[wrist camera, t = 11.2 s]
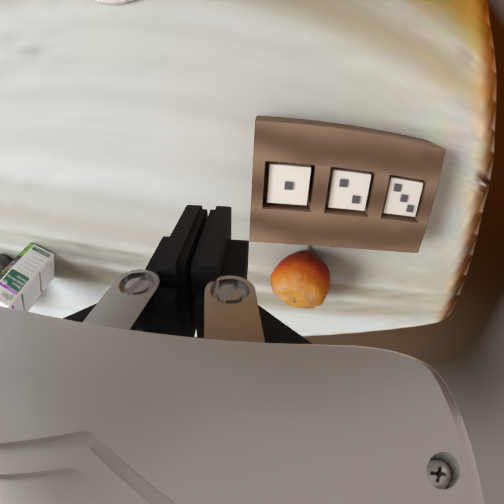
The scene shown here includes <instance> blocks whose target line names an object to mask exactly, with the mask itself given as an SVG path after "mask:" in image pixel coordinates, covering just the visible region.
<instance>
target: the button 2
mask: <svg viewBox="0 0 504 504" xmlns="http://www.w3.org/2000/svg"><path fill="white" fill-rule="evenodd" d="M370 180H371V174H370V173H369V172H368V171H361V170H354V169H346V168H337V167H331V169H330V176H329V183H328V190H327V197H326V204H327V206H328V207H329V208H340V209H350V210H360V211H365V206H366V201H367V196H368V191H369V185H370Z"/></svg>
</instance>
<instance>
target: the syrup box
mask: <svg viewBox="0 0 504 504" xmlns="http://www.w3.org/2000/svg"><path fill="white" fill-rule="evenodd" d="M53 278H54V253H51V252H49V251H47V250H45V249H43V248H41V247H39V246H37V245H35V244H33V243H30V244H29V245H28V246H27V247H26V248H25V249H24V250H23V251H22V252H21V253H20V254H19V255H18V256H17V257H16V258H15V259H14V260H13V261H12V262H11V263H10V264H9V265H8V266H7V267H6V268H5V269H4V270H3V272H2V273H1V274H0V306H2V307H7V308H12V309H18V310H22V311H27V312H28V311H29V310H30V308H31V307H32V305H33V304H34V303H35V301H36V300H37V299H38V297H39V296H40V295H41V293H42V292H43V291H44V290H45V288H46V287H47V286H48V284H49V283H50V282H51V281H52V279H53Z"/></svg>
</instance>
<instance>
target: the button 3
mask: <svg viewBox="0 0 504 504" xmlns="http://www.w3.org/2000/svg"><path fill="white" fill-rule="evenodd" d="M422 187H423V182H421V181H420V180H419V179H413V178H408V177H402V176H396V175H390V177H389V182H388V187H387V192H386V196H385V201H384V205H383V210H382V212H383V213H387V214H396V215H404V216H412V217H415V215H416V211H417V207H418V203H419V199H420V195H421V191H422Z"/></svg>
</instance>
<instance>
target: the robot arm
mask: <svg viewBox="0 0 504 504" xmlns="http://www.w3.org/2000/svg"><path fill="white" fill-rule="evenodd" d="M94 1H96V2H98V3H101V4H106V5H119V4H125V3H128V2H131V1H134V0H94ZM248 249H249V241H245V240H231V207H225V206H216V209H215V210H210V213H209V216H208V214H207V210H206V209H202V206H198V205H187V206H186V208H185V210H184V212H183V214H182V215H181V217H180V219H179V221H178V223H177V225H176V226H175V228H174V230H173V232H172V234H171V236H170V237H163V238H162V240H161V241H160V243H159V245H158V247H157V249H156V250H155V252H154V254H153V256H152V258H151V260H150V262H149V263H148V265H147V267H146V269H145V270H133V271H130V272H127V273H125V274H123V275H121V276H120V277H119V278H118V279H117V280H116V281H115V282H114V284H113V285H112V286H111V287H110V288H109V290H108V291H107V292H106V293H105V295H104V296H103V297H102V298H101V299H100V301H99V302H98V303H97V304H95V305H92V306H90V307H88V308H86V309H83V310H81V311H79V312H77V313H74V314H72V315H70V316H68V317H65V318H63V319H61V318H56V317H51V316H46V315H41V314H36V313H31V312H27V311H22V310H18V309H12V308H7V307H2V306H0V504H484V500H483V495H482V490H481V485H480V480H479V476H478V471H477V467H476V463H475V459H474V455H473V451H472V447H471V444H470V441H469V438H468V435H467V432H466V429H465V426H464V423H463V420H462V417H461V415H460V412H459V410H458V408H457V405H456V403H455V401H454V399H453V397H452V395H451V393H450V391H449V389H448V387H447V386H446V384H445V382H444V381H443V379H442V378H441V377H440V376H439V374H438V373H437V372H436V371H435V370H434V369H433V368H432V367H430V366H429V365H427V364H426V363H424V362H422V361H420V360H418V359H416V358H414V357H411V356H408V355H405V354H401V353H398V352H394V351H390V350H384V349H378V348H372V347H361V346H346V345H345V346H344V345H316V344H312V343H310V342H309V341H308V340H306V339H305V338H303V337H302V336H300V335H299V334H298V333H296V332H295V331H293V330H292V329H291V328H289V327H288V326H286V325H285V324H284V323H282V322H281V321H279V320H278V319H277V318H275V317H274V316H272V315H271V314H270V313H268V312H267V311H266V310H264V309H263V308H261V307H260V306H259V305H258V303H257V297H256V292H255V288H254V286H253V284H252V283H251V282H249V281H248V280H247V271H248ZM196 329H197V337H198V338H195V337H194V335H195V331H196Z"/></svg>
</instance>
